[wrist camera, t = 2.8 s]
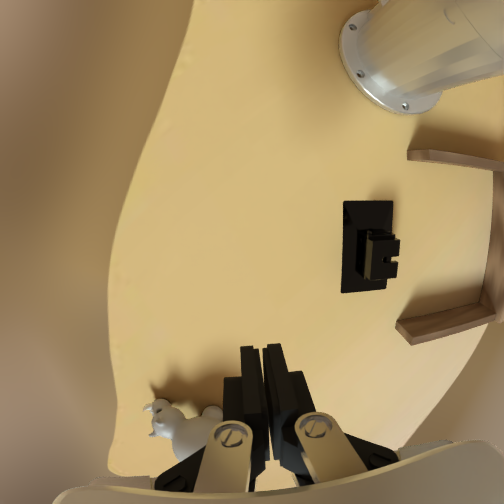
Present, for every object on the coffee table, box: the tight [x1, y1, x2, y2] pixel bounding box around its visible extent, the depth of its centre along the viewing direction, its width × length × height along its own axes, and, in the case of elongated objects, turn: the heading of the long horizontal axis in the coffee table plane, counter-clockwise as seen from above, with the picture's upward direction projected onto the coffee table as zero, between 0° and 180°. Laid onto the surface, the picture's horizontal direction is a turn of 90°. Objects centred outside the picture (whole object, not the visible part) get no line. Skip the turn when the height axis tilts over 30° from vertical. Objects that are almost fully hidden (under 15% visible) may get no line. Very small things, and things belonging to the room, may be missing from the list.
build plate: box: [341, 201, 400, 293], centre depth 26 cm, size 12×7×5 cm, turn 2°
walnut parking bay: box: [395, 149, 504, 346], centre depth 26 cm, size 20×16×5 cm
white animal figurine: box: [143, 399, 223, 462], centre depth 29 cm, size 7×12×8 cm, turn 64°
